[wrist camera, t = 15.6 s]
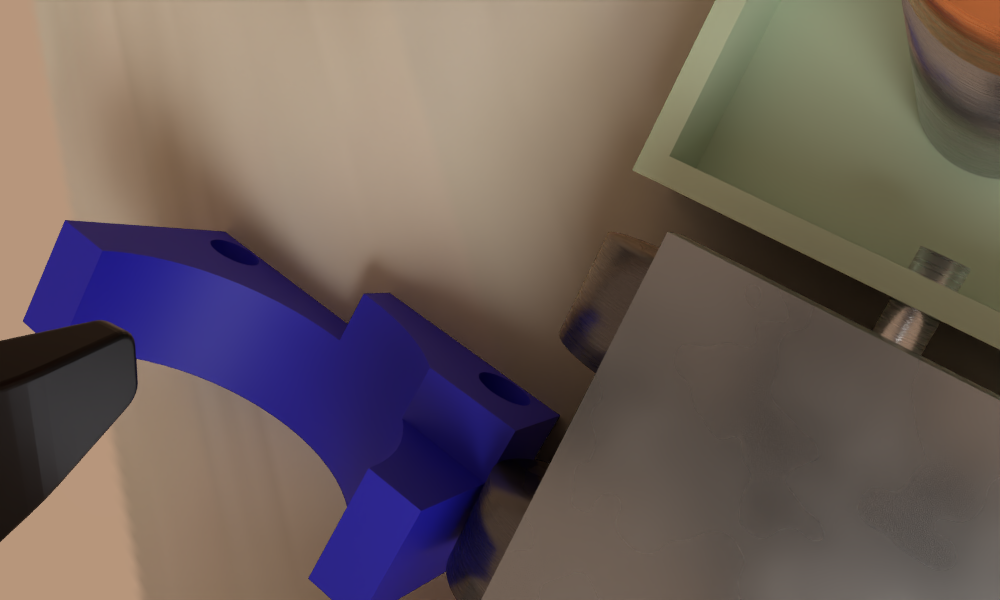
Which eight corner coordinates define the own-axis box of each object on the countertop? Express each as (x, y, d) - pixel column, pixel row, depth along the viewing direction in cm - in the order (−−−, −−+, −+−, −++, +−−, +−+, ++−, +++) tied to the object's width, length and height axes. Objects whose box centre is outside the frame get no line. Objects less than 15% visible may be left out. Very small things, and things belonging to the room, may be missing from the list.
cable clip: (562, 414, 24) (454, 451, 19) (481, 550, 26) (357, 623, 20) (248, 189, 29) (87, 167, 23) (190, 314, 30) (22, 321, 24)
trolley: (906, 925, 21) (893, 1149, 16) (464, 598, 26) (335, 684, 20) (1261, 406, 18) (1397, 459, 13) (693, 143, 23) (614, 99, 17)
